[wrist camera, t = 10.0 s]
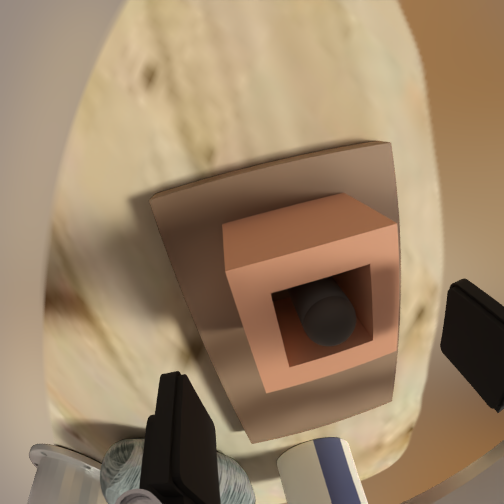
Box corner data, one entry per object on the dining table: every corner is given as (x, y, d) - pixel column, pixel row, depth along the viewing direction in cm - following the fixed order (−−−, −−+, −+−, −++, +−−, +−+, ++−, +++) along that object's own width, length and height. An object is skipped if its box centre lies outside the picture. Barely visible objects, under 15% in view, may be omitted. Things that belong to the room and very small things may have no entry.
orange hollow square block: (355, 295, 17) (396, 350, 12) (253, 326, 17) (266, 393, 12) (343, 192, 14) (397, 223, 10) (222, 224, 14) (225, 271, 10)
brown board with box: (384, 389, 23) (421, 454, 16) (249, 430, 23) (261, 506, 16) (377, 140, 15) (474, 158, 8) (155, 193, 15) (106, 249, 8)
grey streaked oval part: (88, 479, 20) (107, 553, 12) (100, 406, 22) (119, 480, 13) (207, 487, 27) (252, 542, 18) (231, 424, 28) (289, 476, 20)
